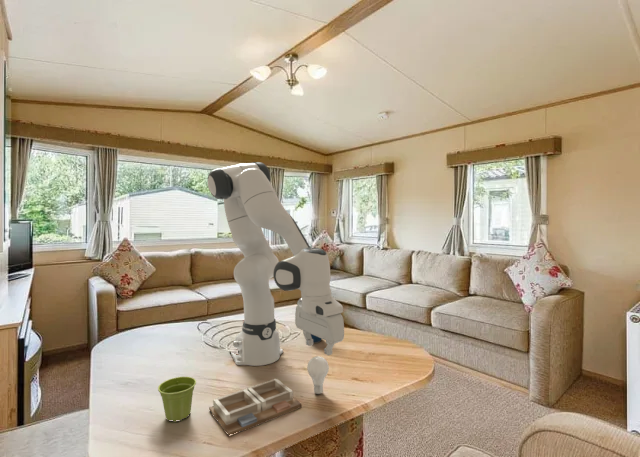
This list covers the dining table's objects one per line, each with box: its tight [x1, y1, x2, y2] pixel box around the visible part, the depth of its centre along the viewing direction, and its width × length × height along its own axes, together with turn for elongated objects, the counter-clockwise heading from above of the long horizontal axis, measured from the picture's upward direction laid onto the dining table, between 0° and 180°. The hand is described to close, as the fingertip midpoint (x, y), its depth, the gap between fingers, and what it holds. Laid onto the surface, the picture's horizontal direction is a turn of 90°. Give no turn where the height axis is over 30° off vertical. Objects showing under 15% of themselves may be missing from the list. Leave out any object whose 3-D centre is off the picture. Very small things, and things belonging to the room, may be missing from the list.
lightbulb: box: [307, 355, 330, 395], centre depth 104 cm, size 6×6×11 cm
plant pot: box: [157, 376, 197, 421], centre depth 94 cm, size 9×9×9 cm
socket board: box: [208, 378, 303, 436], centre depth 96 cm, size 14×21×4 cm, turn 126°
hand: (318, 349), depth 103 cm, fingers open, 8 cm apart
